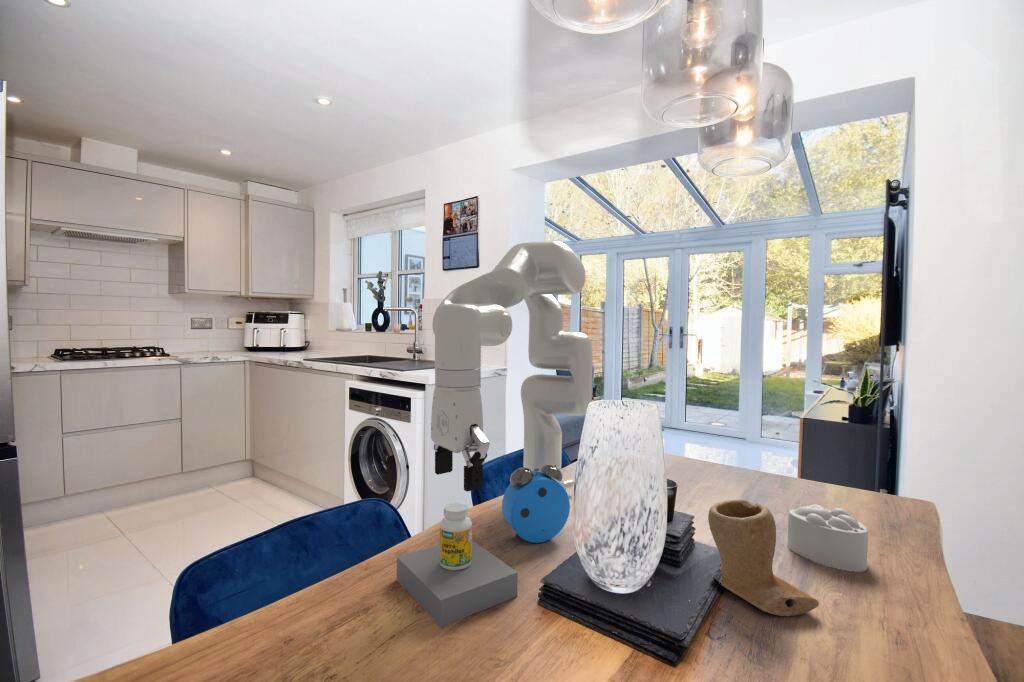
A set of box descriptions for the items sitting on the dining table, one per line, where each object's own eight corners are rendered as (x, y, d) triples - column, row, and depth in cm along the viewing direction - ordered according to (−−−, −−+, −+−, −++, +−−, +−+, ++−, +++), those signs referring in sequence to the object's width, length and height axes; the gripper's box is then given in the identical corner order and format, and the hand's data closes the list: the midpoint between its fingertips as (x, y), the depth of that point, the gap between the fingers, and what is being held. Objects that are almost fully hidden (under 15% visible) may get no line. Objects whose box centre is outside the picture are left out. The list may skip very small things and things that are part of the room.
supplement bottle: (474, 556, 84) (474, 501, 83) (468, 572, 78) (469, 514, 78) (443, 554, 84) (444, 500, 84) (435, 570, 79) (436, 512, 79)
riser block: (466, 557, 92) (466, 536, 92) (517, 596, 79) (517, 572, 79) (396, 579, 83) (396, 556, 83) (440, 627, 71) (440, 600, 70)
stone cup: (691, 578, 85) (693, 494, 85) (745, 568, 89) (748, 488, 89) (760, 630, 71) (763, 529, 70) (820, 616, 75) (824, 520, 74)
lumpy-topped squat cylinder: (813, 537, 103) (815, 497, 103) (881, 566, 91) (883, 520, 91) (779, 546, 99) (781, 504, 98) (845, 577, 87) (847, 529, 86)
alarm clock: (557, 527, 106) (558, 459, 105) (570, 539, 100) (572, 467, 99) (500, 536, 101) (501, 465, 100) (511, 549, 95) (512, 474, 95)
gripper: (414, 374, 85) (414, 471, 86) (465, 387, 71) (465, 502, 72) (452, 372, 89) (452, 463, 90) (506, 383, 75) (506, 491, 76)
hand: (457, 480), depth 81 cm, fingers open, 9 cm apart
